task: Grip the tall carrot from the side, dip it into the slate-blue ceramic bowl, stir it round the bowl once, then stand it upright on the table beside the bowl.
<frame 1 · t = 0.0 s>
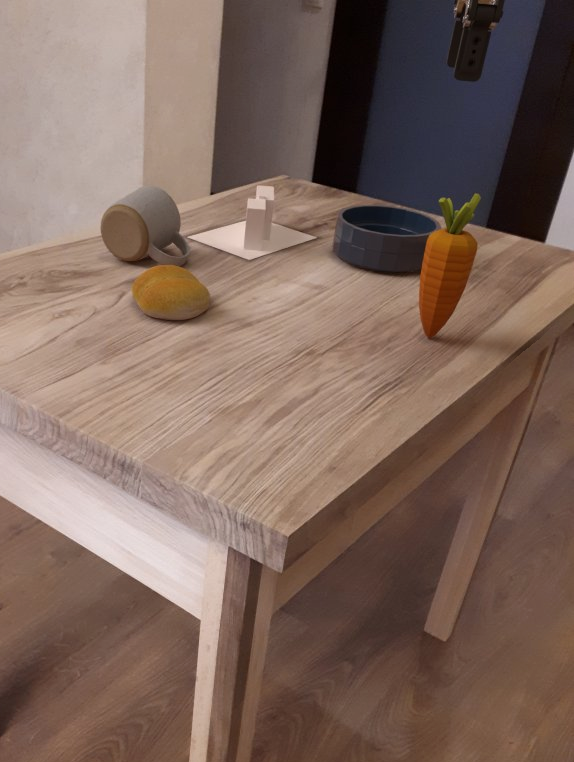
hand: (461, 73, 71), 25 cm above the table, tool pointing down, fingers open, 8 cm apart
bowl: (381, 257, 106), on the table
napkin holder: (252, 238, 109), on the table
ceramic mug: (149, 258, 101), on the table
bread roll: (169, 307, 88), on the table
carrot: (428, 339, 85), on the table
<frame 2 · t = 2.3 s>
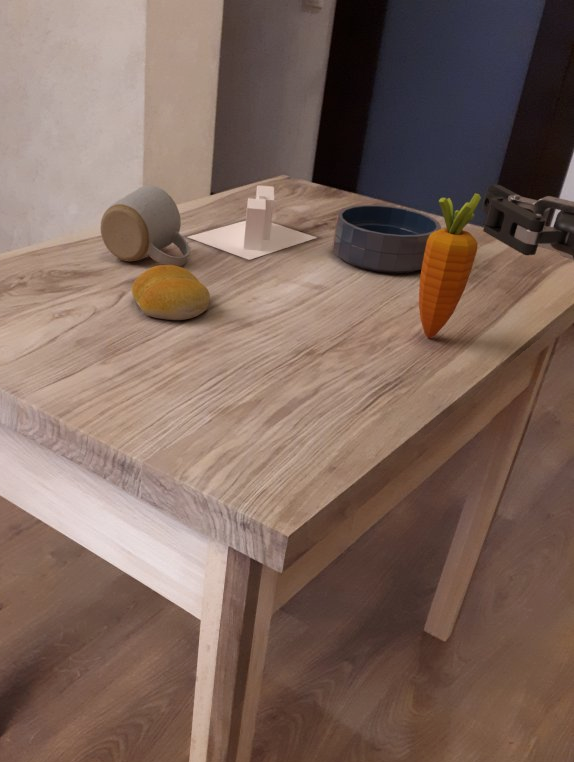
hand: (535, 197, 66), 18 cm above the table, tool horizontal, fingers open, 8 cm apart
nothing on the table moved.
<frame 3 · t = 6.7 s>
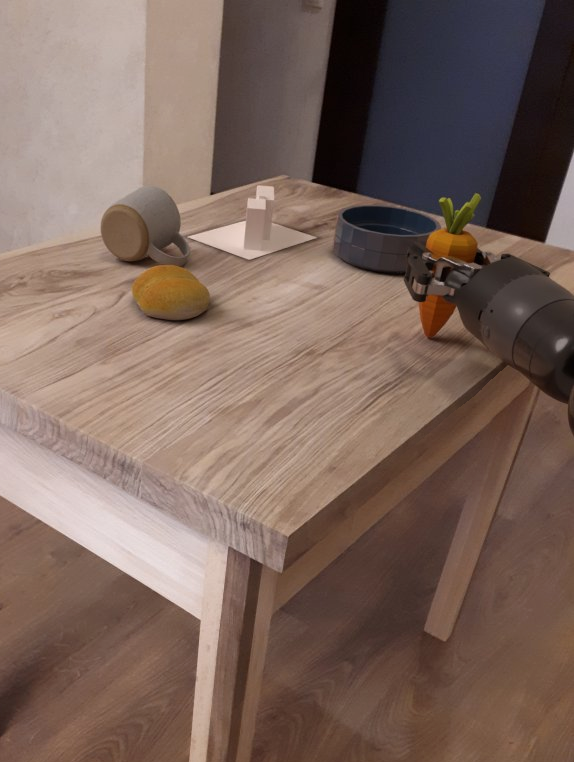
hand: (436, 251, 82), 8 cm above the table, tool horizontal, fingers closed on carrot, 5 cm apart
carrot: (428, 339, 85), on the table, touching gripper
everything else where it was.
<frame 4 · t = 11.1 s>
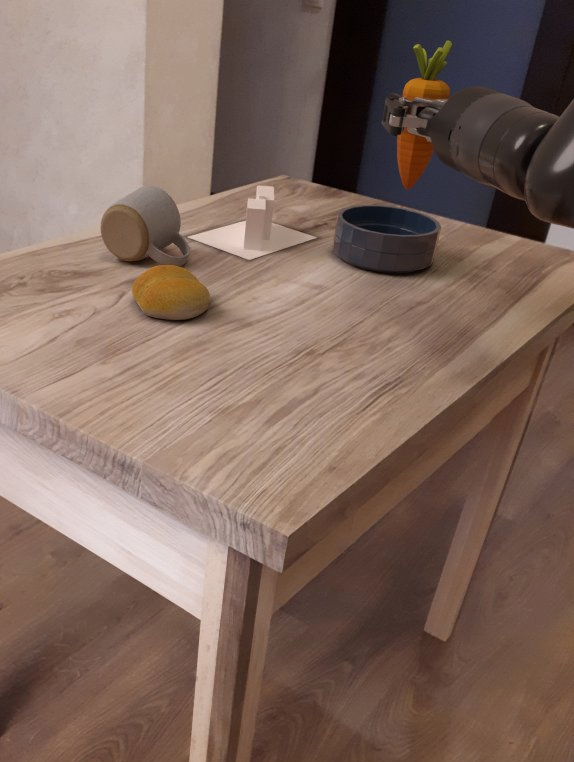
hand: (412, 104, 88), 20 cm above the table, tool horizontal, fingers closed on carrot, 5 cm apart
carrot: (406, 191, 91), point 11 cm above the table, touching gripper
everything else where it was.
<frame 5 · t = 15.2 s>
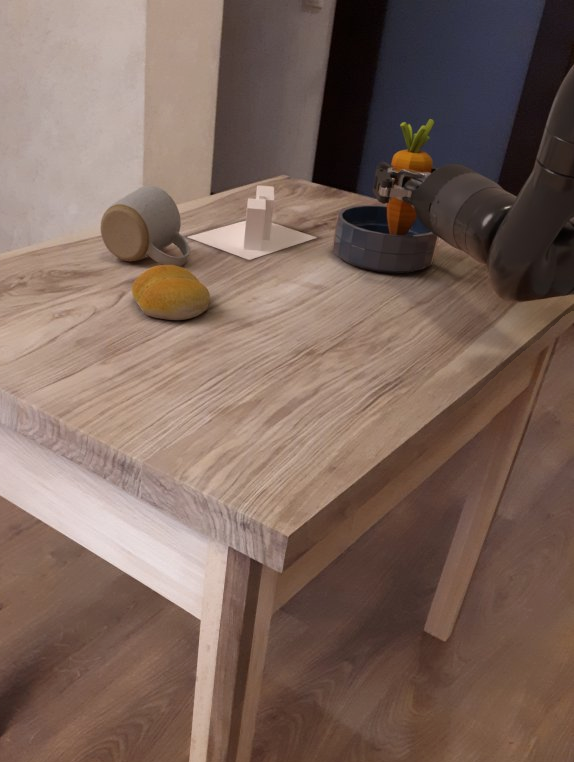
hand: (400, 170, 101), 11 cm above the table, tool horizontal, fingers closed on carrot, 5 cm apart
carrot: (395, 245, 104), point 2 cm above the table, touching gripper
everything else where it was.
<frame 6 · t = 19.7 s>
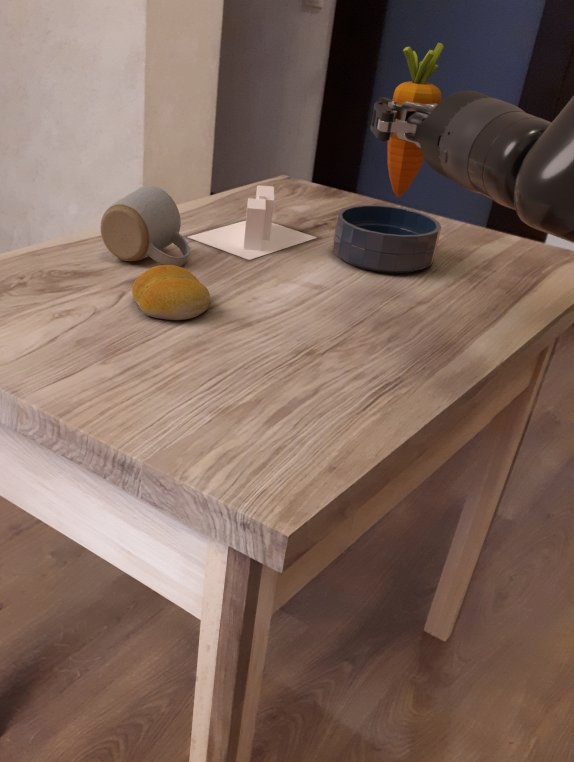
hand: (403, 108, 86), 20 cm above the table, tool horizontal, fingers closed on carrot, 5 cm apart
carrot: (397, 198, 89), point 11 cm above the table, touching gripper
everything else where it was.
when the fingers open (8 cm above the table, at t = 23.7 s): carrot stays where it is, on the table.
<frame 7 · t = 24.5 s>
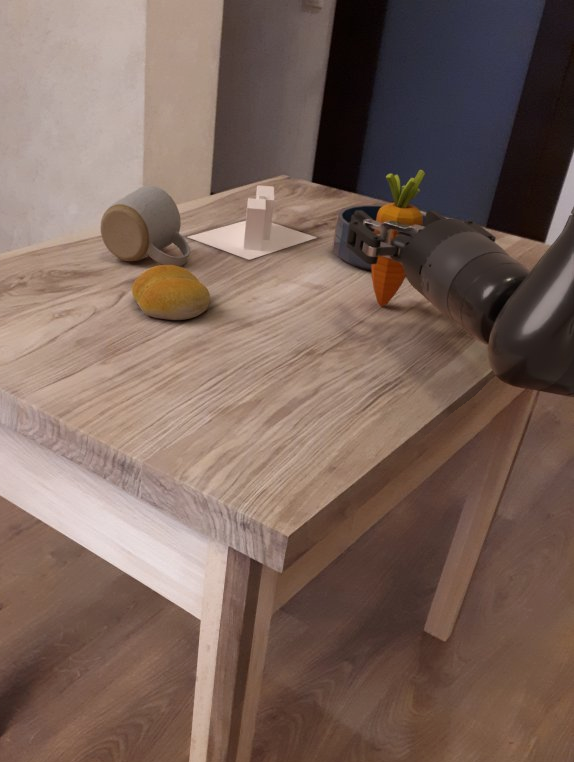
hand: (392, 219, 88), 9 cm above the table, tool horizontal, fingers open, 8 cm apart
carrot: (381, 307, 92), on the table
everything else where it was.
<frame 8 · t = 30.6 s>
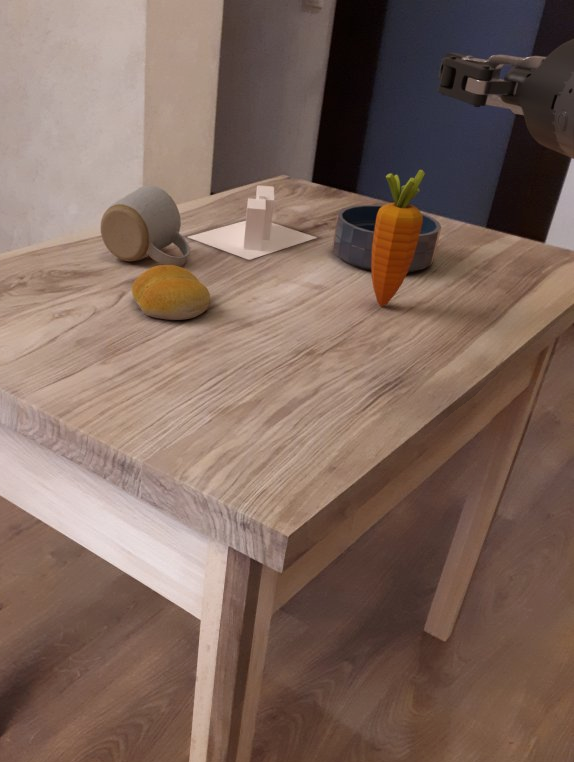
hand: (491, 68, 68), 26 cm above the table, tool horizontal, fingers open, 8 cm apart
nothing on the table moved.
at the end: carrot inside the target area on the table beside the bowl (0.1 cm from its centre), on the table; carrot tilted 0°; the gripper is holding nothing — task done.
